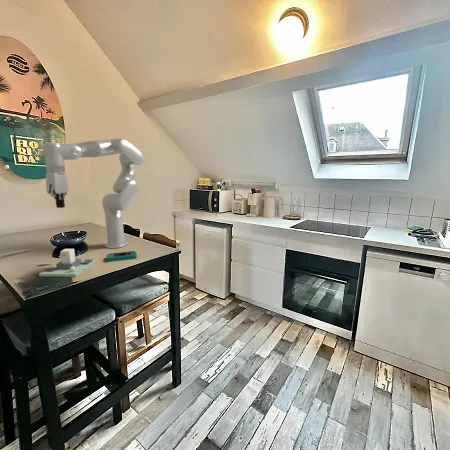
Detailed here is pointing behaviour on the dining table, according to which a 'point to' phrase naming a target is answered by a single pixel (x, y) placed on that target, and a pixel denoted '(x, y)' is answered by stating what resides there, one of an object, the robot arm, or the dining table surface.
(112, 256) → the digital multimeter
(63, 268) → the board
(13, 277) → the dining table surface
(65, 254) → the plug
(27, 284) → the dining table surface
